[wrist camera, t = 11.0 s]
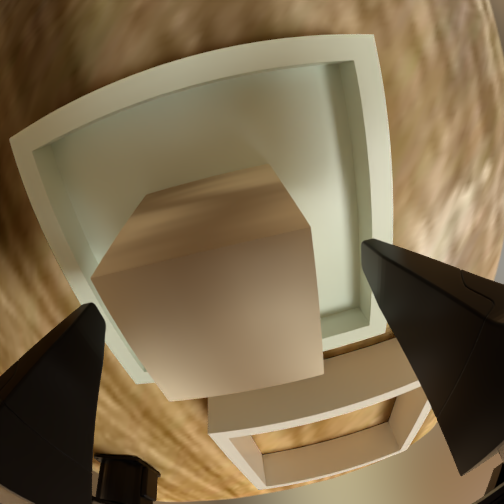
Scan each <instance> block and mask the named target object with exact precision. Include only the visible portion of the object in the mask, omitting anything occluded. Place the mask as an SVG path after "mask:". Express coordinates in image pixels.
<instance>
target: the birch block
mask: <svg viewBox="0 0 504 504" xmlns="http://www.w3.org/2000/svg"><path fill="white" fill-rule="evenodd" d="M90 279H91V281H92V283H93V285H94V286H95V288H96V290H97V292H98V294H99V296H100V297H101V299H102V301H103V303H104V304H105V306H106V308H107V310H108V311H109V313H110V315H111V316H112V318H113V320H114V321H115V323H116V325H117V326H118V328H119V330H120V331H121V333H122V334H123V336H124V338H125V339H126V341H127V342H128V344H129V345H130V347H131V348H132V350H133V351H134V353H135V354H136V356H137V357H138V359H139V360H140V362H141V363H142V365H143V366H144V368H145V369H146V370H147V372H148V373H149V375H150V376H151V377H152V379H153V380H154V382H155V383H156V384H157V386H158V387H159V388H160V390H161V391H162V392H163V394H164V395H165V396H166V398H167V399H168V400H169V401H180V400H189V399H198V398H206V397H213V396H220V395H227V394H233V393H239V392H245V391H251V390H256V389H261V388H266V387H271V386H276V385H281V384H285V383H290V382H294V381H299V380H303V379H307V378H311V377H315V376H319V375H322V374H324V363H323V347H322V332H321V320H320V308H319V297H318V286H317V276H316V267H315V258H314V249H313V241H312V233H311V226H310V225H309V223H308V222H307V220H306V219H305V217H304V216H303V214H302V212H301V211H300V209H299V208H298V206H297V205H296V203H295V202H294V200H293V199H292V197H291V196H290V194H289V193H288V191H287V190H286V188H285V187H284V185H283V184H282V182H281V181H280V179H279V178H278V176H277V175H276V173H275V172H274V170H273V169H272V167H271V166H270V165H269V164H264V165H260V166H255V167H250V168H246V169H242V170H237V171H233V172H229V173H224V174H220V175H216V176H212V177H208V178H204V179H200V180H197V181H193V182H189V183H185V184H181V185H178V186H174V187H171V188H167V189H164V190H160V191H157V192H153V193H150V194H147V195H146V196H145V197H144V198H143V200H142V201H141V202H140V204H139V205H138V207H137V208H136V209H135V211H134V212H133V214H132V215H131V216H130V218H129V219H128V221H127V222H126V224H125V225H124V226H123V228H122V229H121V231H120V232H119V234H118V235H117V237H116V238H115V240H114V241H113V243H112V244H111V246H110V247H109V249H108V251H107V252H106V254H105V255H104V257H103V258H102V260H101V262H100V263H99V265H98V266H97V268H96V270H95V271H94V273H93V275H92V276H91V278H90Z"/></svg>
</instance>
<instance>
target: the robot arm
mask: <svg viewBox="0 0 504 504" xmlns="http://www.w3.org/2000/svg"><path fill="white" fill-rule="evenodd" d="M361 265H362V270H363V272H364V274H365V276H366V279H367V281H368V283H369V285H370V288H371V290H372V292H373V295H374V297H375V299H376V302H377V304H378V306H379V308H380V310H381V312H382V314H383V315H384V317H385V319H386V321H387V322H388V324H389V326H390V328H391V329H392V331H393V333H394V335H395V337H396V339H397V340H398V342H399V344H400V346H401V348H402V350H403V352H404V353H405V355H406V357H407V359H408V361H409V363H410V365H411V367H412V369H413V371H414V373H415V375H416V377H417V379H418V381H419V383H420V385H421V387H422V389H423V391H424V393H425V395H426V397H427V399H428V401H429V403H430V405H431V408H432V410H433V412H434V414H435V416H436V418H437V421H438V423H439V425H440V427H441V430H442V432H443V434H444V437H445V439H446V441H447V444H448V446H449V449H450V451H451V453H452V456H453V458H454V461H455V463H456V466H457V469H458V471H459V473H460V475H461V476H463V475H465V474H466V473H468V472H470V471H471V470H473V469H474V468H476V467H477V466H479V465H480V464H482V463H484V462H485V461H486V460H488V459H490V458H491V457H492V456H494V455H495V454H497V453H498V452H499V454H500V456H501V459H502V461H503V463H501V464H500V465H499V466H497V467H496V468H495V469H494V470H493V473H492V476H491V479H490V481H489V484H488V487H487V489H486V492H485V495H484V496H483V497H482V498H480V499H479V500H477V501H476V502H474V503H473V504H504V284H501V283H498V282H495V281H492V280H489V279H486V278H483V277H480V276H477V275H475V274H472V273H469V272H467V271H464V270H461V271H460V269H459V268H456V267H454V266H451V265H448V264H446V263H443V262H440V261H437V260H435V259H432V258H429V257H426V256H424V255H421V254H418V253H415V252H412V251H409V250H407V249H404V248H401V247H398V246H395V245H392V244H389V243H386V242H383V241H380V240H377V239H374V238H373V239H368V240H364V241H362V243H361ZM105 333H106V322H105V320H104V318H103V316H102V315H101V313H100V311H99V310H98V308H97V306H96V305H95V304H94V303H92V302H90V303H85V304H82V305H81V306H80V307H79V308H77V309H76V310H75V311H74V312H73V313H71V314H70V315H69V316H68V317H67V318H65V319H64V320H63V321H62V322H61V323H60V324H58V325H57V326H56V327H55V328H54V329H53V330H51V331H50V332H49V333H48V334H47V335H46V336H44V337H43V338H42V339H41V340H40V341H39V342H38V343H36V344H35V345H34V346H33V347H32V348H31V349H30V350H29V351H28V352H26V353H25V354H24V355H23V356H22V357H21V358H20V359H19V361H16V362H15V363H14V364H13V365H12V366H11V367H10V368H9V369H8V370H7V371H6V372H5V373H3V374H2V375H1V376H0V504H153V501H156V498H157V478H158V477H160V476H161V474H160V473H159V472H157V471H156V470H154V469H153V468H151V467H150V466H148V465H147V464H146V463H144V462H143V461H141V460H140V459H139V458H136V457H123V456H109V455H98V454H94V458H95V459H96V460H98V461H99V462H101V464H100V471H99V478H98V484H97V491H96V497H94V496H92V459H93V443H94V430H95V420H96V410H97V402H98V394H99V387H100V380H101V373H102V367H103V357H104V344H105Z"/></svg>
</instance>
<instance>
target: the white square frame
mask: <svg viewBox="0 0 504 504" xmlns="http://www.w3.org/2000/svg"><path fill="white" fill-rule="evenodd" d="M323 363H324V374H322V375H319V376H315V377H311V378H307V379H303V380H299V381H294V382H290V383H285V384H281V385H276V386H271V387H266V388H261V389H256V390H251V391H245V392H239V393H233V394H227V395H220V396H213V397H208V434H209V436H210V437H211V438H212V439H213V440H214V442H215V443H216V444H217V445H218V446H219V448H220V449H221V450H222V451H223V452H224V453H225V454H226V456H227V457H228V458H229V459H230V460H231V461H232V462H233V463H234V465H235V466H236V467H237V468H238V469H239V470H240V471H241V472H242V473H243V474H244V475H245V476H246V477H247V479H248V480H249V481H250V482H251V483H252V484H253V485H254V486H255V487H256V488H257V489H258V490H262V489H269V488H275V487H281V486H287V485H292V484H297V483H302V482H307V481H311V480H316V479H320V478H324V477H328V476H332V475H335V474H339V473H343V472H346V471H349V470H353V469H356V468H359V467H362V466H365V465H368V464H371V463H374V462H377V461H380V460H382V459H385V458H388V457H390V456H393V455H395V454H398V453H400V452H403V451H405V450H407V448H408V447H409V445H410V444H411V442H412V440H413V439H414V437H415V436H416V434H417V432H418V431H419V429H420V427H421V426H422V424H423V422H424V420H425V419H426V417H427V415H428V413H429V411H430V410H431V405H430V403H429V401H428V399H427V397H426V395H425V393H424V391H423V389H422V387H421V385H420V383H419V381H418V379H417V377H416V375H415V373H414V371H413V369H412V367H411V365H410V363H409V361H408V359H407V357H406V355H405V353H404V352H403V350H402V348H401V346H400V344H399V342H398V340H397V339H396V338H393V339H390V340H387V341H384V342H381V343H378V344H375V345H372V346H369V347H366V348H363V349H359V350H356V351H353V352H349V353H346V354H343V355H339V356H336V357H332V358H328V359H325V360H323ZM396 396H397V398H396V401H395V404H394V407H393V410H392V413H391V415H390V418H389V421H388V422H385V423H383V424H380V425H377V426H374V427H371V428H368V429H365V430H362V431H359V432H356V433H353V434H350V435H347V436H343V437H340V438H336V439H333V440H329V441H325V442H321V443H317V444H313V445H309V446H305V447H301V448H296V449H291V450H286V451H281V452H276V453H270V454H264V455H262V453H261V452H260V450H259V448H258V447H257V445H256V443H255V442H254V440H253V438H252V436H251V435H255V434H261V433H266V432H272V431H277V430H282V429H287V428H292V427H296V426H301V425H305V424H309V423H313V422H317V421H321V420H325V419H328V418H332V417H336V416H339V415H343V414H346V413H349V412H352V411H356V410H359V409H362V408H365V407H368V406H371V405H374V404H377V403H379V402H382V401H385V400H388V399H390V398H393V397H396Z"/></svg>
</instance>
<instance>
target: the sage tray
mask: <svg viewBox="0 0 504 504" xmlns="http://www.w3.org/2000/svg"><path fill="white" fill-rule="evenodd" d="M9 141H10V144H11V148H12V151H13V154H14V157H15V161H16V164H17V167H18V170H19V173H20V176H21V179H22V181H23V184H24V187H25V190H26V192H27V195H28V198H29V200H30V203H31V205H32V208H33V210H34V212H35V215H36V217H37V220H38V222H39V224H40V226H41V229H42V231H43V233H44V235H45V237H46V240H47V242H48V244H49V246H50V248H51V250H52V252H53V254H54V256H55V258H56V260H57V262H58V264H59V266H60V268H61V270H62V272H63V274H64V275H65V277H66V279H67V281H68V283H69V284H70V286H71V288H72V290H73V292H74V293H75V295H76V297H77V298H78V300H79V302H80V304H81V305H82V304H85V303H90V302H92V303H94V304H95V305H96V306H97V308H98V310H99V311H100V313H101V315H102V316H103V318H104V320H105V322H106V333H105V342H106V344H107V345H108V347H109V348H110V350H111V351H112V352H113V354H114V355H115V357H116V358H117V359H118V361H119V362H120V364H121V365H122V366H123V368H124V369H125V370H126V372H127V373H128V374H129V375H130V377H131V378H132V379H133V381H134V382H135V383H136V384H144V383H155V382H154V380H153V379H152V377H151V376H150V375H149V373H148V372H147V370H146V369H145V368H144V366H143V365H142V363H141V362H140V360H139V359H138V357H137V356H136V354H135V353H134V351H133V350H132V348H131V347H130V345H129V344H128V342H127V341H126V339H125V338H124V336H123V334H122V333H121V331H120V330H119V328H118V326H117V325H116V323H115V321H114V320H113V318H112V316H111V315H110V313H109V311H108V310H107V308H106V306H105V304H104V303H103V301H102V299H101V297H100V296H99V294H98V292H97V290H96V288H95V286H94V285H93V283H92V281H91V279H90V278H91V276H92V275H93V273H94V271H95V270H96V268H97V266H98V265H99V263H100V262H101V260H102V258H103V257H104V255H105V254H106V252H107V251H108V249H109V247H110V246H111V244H112V243H113V241H114V240H115V238H116V237H117V235H118V234H119V232H120V231H121V229H122V228H123V226H124V225H125V224H126V222H127V221H128V219H129V218H130V216H131V215H132V214H133V212H134V211H135V209H136V208H137V207H138V205H139V204H140V202H141V201H142V200H143V198H144V197H145V196H146V195H147V194H150V193H153V192H157V191H160V190H164V189H167V188H171V187H174V186H178V185H181V184H185V183H189V182H193V181H197V180H200V179H204V178H208V177H212V176H216V175H220V174H224V173H229V172H233V171H237V170H242V169H246V168H250V167H255V166H260V165H264V164H269V165H270V166H271V167H272V169H273V170H274V172H275V173H276V175H277V176H278V178H279V179H280V181H281V182H282V184H283V185H284V187H285V188H286V190H287V191H288V193H289V194H290V196H291V197H292V199H293V200H294V202H295V203H296V205H297V206H298V208H299V209H300V211H301V212H302V214H303V216H304V217H305V219H306V220H307V222H308V223H309V225H310V226H311V233H312V241H313V249H314V258H315V267H316V276H317V286H318V297H319V308H320V320H321V332H322V347H323V351H327V350H330V349H334V348H338V347H341V346H345V345H348V344H351V343H355V342H358V341H361V340H365V339H368V338H371V337H374V336H377V335H380V334H383V333H385V331H386V323H387V321H386V319H385V317H384V315H383V314H382V312H381V310H380V308H379V306H378V304H377V302H376V299H375V297H374V295H373V292H372V290H371V288H370V285H369V283H368V281H367V279H366V276H365V274H364V272H363V270H362V265H361V243H362V241H364V240H368V239H373V238H374V239H377V240H380V241H383V242H386V243H389V244H392V245H393V182H392V162H391V148H390V136H389V126H388V117H387V108H386V101H385V94H384V87H383V81H382V75H381V69H380V64H379V58H378V53H377V49H376V44H375V39H374V35H373V34H334V35H314V36H301V37H291V38H282V39H274V40H267V41H260V42H254V43H248V44H242V45H237V46H232V47H227V48H222V49H218V50H213V51H209V52H205V53H201V54H197V55H193V56H190V57H186V58H183V59H179V60H176V61H172V62H169V63H166V64H163V65H160V66H157V67H154V68H151V69H148V70H145V71H142V72H139V73H137V74H134V75H131V76H129V77H126V78H124V79H121V80H119V81H116V82H114V83H111V84H109V85H107V86H104V87H102V88H100V89H98V90H95V91H93V92H91V93H89V94H87V95H85V96H82V97H80V98H78V99H76V100H74V101H72V102H70V103H68V104H67V105H65V106H63V107H61V108H59V109H57V110H55V111H53V112H52V113H50V114H48V115H46V116H45V117H43V118H41V119H39V120H38V121H36V122H34V123H33V124H31V125H29V126H28V127H26V128H25V129H23V130H22V131H20V132H18V133H17V134H15V135H14V136H12V137H11V138H9Z"/></svg>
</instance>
